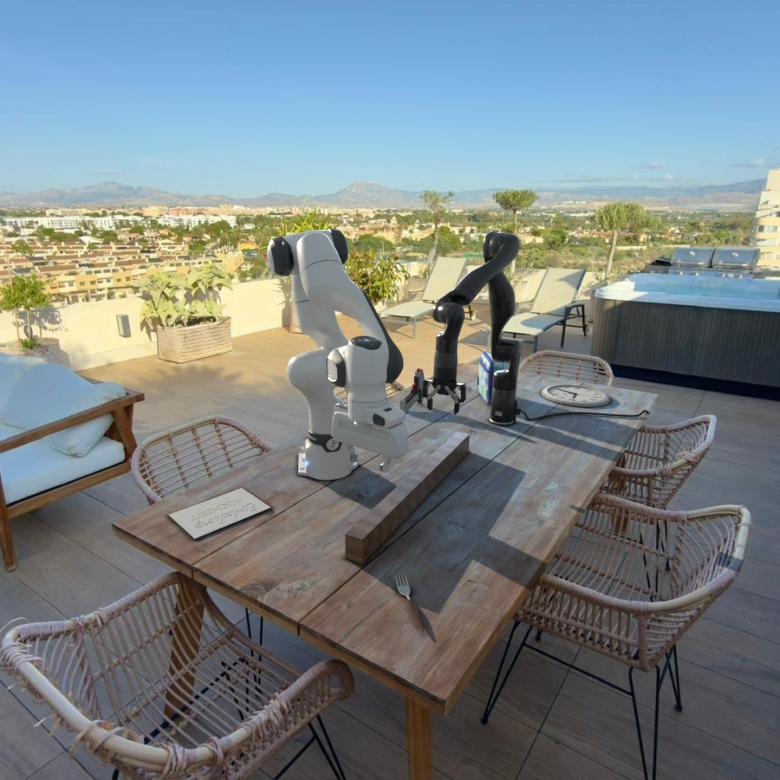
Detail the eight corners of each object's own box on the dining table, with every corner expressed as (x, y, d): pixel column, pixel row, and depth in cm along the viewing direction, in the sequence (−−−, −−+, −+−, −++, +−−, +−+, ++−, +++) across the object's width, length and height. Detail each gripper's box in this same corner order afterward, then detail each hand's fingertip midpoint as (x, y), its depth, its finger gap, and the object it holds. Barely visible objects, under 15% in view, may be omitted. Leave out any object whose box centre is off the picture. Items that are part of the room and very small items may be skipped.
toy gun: (399, 376, 211) (420, 366, 222) (400, 413, 216) (420, 401, 228) (404, 377, 209) (424, 367, 220) (404, 414, 215) (424, 403, 226)
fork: (417, 635, 98) (417, 626, 97) (393, 581, 112) (394, 573, 112) (430, 632, 98) (430, 623, 98) (405, 579, 113) (405, 571, 112)
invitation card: (241, 487, 151) (270, 507, 140) (241, 488, 151) (270, 508, 141) (168, 514, 136) (194, 538, 126) (168, 515, 136) (194, 539, 126)
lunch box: (475, 390, 246) (478, 346, 240) (498, 390, 246) (501, 347, 240) (484, 408, 221) (487, 360, 215) (509, 409, 221) (513, 360, 215)
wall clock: (623, 402, 226) (556, 403, 224) (623, 406, 227) (556, 407, 224) (592, 383, 255) (532, 383, 252) (591, 386, 255) (532, 386, 253)
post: (456, 448, 181) (457, 431, 179) (468, 451, 179) (469, 434, 177) (345, 558, 120) (344, 534, 118) (362, 564, 118) (362, 539, 116)
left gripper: (324, 404, 121) (326, 459, 125) (394, 422, 109) (394, 482, 113) (342, 397, 126) (344, 451, 130) (412, 414, 114) (411, 472, 118)
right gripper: (420, 364, 167) (419, 412, 172) (464, 369, 162) (461, 418, 167) (427, 359, 174) (425, 405, 178) (469, 364, 169) (466, 411, 174)
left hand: (368, 466), depth 121 cm, fingers open, 8 cm apart
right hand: (443, 411), depth 173 cm, fingers open, 8 cm apart
